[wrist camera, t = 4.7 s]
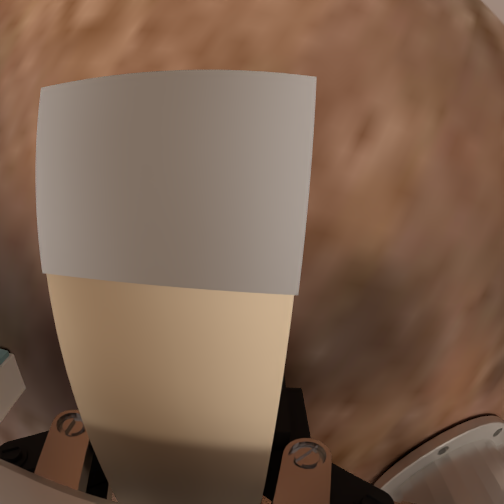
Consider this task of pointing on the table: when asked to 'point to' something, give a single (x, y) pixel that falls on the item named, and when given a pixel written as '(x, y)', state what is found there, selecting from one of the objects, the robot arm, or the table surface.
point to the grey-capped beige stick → (176, 268)
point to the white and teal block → (9, 382)
